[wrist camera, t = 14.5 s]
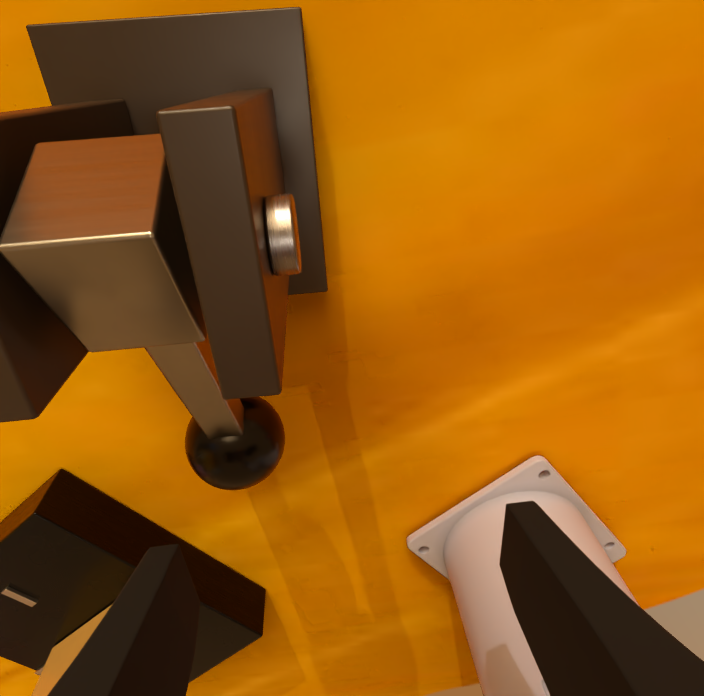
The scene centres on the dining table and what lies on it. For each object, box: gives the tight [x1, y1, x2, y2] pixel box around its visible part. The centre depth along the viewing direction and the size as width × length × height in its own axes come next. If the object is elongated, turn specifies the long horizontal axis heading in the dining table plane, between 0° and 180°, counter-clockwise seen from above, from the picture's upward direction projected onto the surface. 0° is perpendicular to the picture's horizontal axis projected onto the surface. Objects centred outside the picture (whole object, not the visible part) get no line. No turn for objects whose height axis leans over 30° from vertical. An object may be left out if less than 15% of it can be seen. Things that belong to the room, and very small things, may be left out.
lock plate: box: [0, 469, 266, 683], centre depth 23 cm, size 12×9×3 cm
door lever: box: [0, 134, 285, 490], centre depth 13 cm, size 12×3×3 cm, turn 5°
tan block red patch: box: [32, 605, 111, 696], centre depth 21 cm, size 5×1×4 cm, turn 130°
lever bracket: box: [0, 7, 328, 422], centre depth 11 cm, size 8×7×10 cm
